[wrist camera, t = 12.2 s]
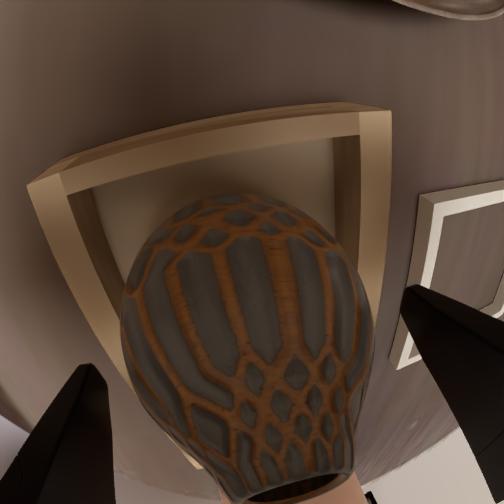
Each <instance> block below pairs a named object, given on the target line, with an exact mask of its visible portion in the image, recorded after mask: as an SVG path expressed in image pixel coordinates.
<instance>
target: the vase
mask: <svg viewBox="0 0 504 504" xmlns="http://www.w3.org/2000/svg"><path fill="white" fill-rule="evenodd" d="M120 339H121V346H122V352H123V357H124V361H125V365H126V369H127V372H128V375H129V378H130V381H131V383H132V386H133V388H134V390H135V392H136V394H137V396H138V398H139V400H140V402H141V404H142V405H143V407H144V408H145V409H146V411H147V412H148V414H149V415H150V416H151V418H152V419H153V420H154V421H155V422H156V423H157V424H158V425H159V427H160V428H161V429H162V430H163V431H164V432H165V433H166V434H167V435H168V436H169V437H170V438H171V439H172V440H173V441H174V442H175V443H176V444H178V445H179V446H180V447H181V448H182V449H183V450H184V451H185V452H186V453H187V454H189V455H190V456H191V457H192V458H193V459H194V460H195V461H197V462H198V463H199V464H200V465H201V466H202V467H203V468H204V469H205V470H206V471H207V473H208V474H209V475H210V476H211V477H212V478H213V480H214V481H215V482H216V484H217V485H218V486H219V488H220V489H221V490H222V492H223V493H224V494H225V496H226V497H227V499H228V500H229V501H230V502H231V503H232V504H297V503H300V502H303V501H306V500H309V499H312V498H315V497H317V496H320V495H322V494H324V493H327V492H329V491H331V490H333V489H335V488H336V487H338V486H340V485H341V484H343V483H344V482H345V481H347V480H348V479H349V478H350V476H351V475H352V474H353V471H354V464H355V438H356V431H357V423H358V420H359V416H360V412H361V409H362V406H363V402H364V399H365V395H366V391H367V387H368V383H369V379H370V374H371V370H372V364H373V358H374V348H375V333H374V322H373V317H372V312H371V307H370V303H369V300H368V297H367V293H366V290H365V288H364V285H363V283H362V280H361V278H360V275H359V273H358V271H357V270H356V268H355V266H354V264H353V262H352V260H351V259H350V257H349V256H348V254H347V253H346V252H345V250H344V249H343V248H342V247H341V245H340V244H339V243H338V242H337V241H336V239H335V238H334V237H333V236H332V235H331V234H330V233H329V232H328V231H327V230H326V229H325V228H323V227H322V226H321V225H320V224H319V223H318V222H316V221H315V220H314V219H313V218H311V217H310V216H309V215H307V214H306V213H304V212H303V211H301V210H299V209H298V208H296V207H294V206H292V205H289V204H287V203H285V202H282V201H280V200H277V199H274V198H271V197H267V196H262V195H256V194H248V193H229V194H220V195H215V196H211V197H207V198H204V199H201V200H198V201H196V202H194V203H191V204H189V205H187V206H185V207H184V208H182V209H180V210H179V211H177V212H176V213H174V214H173V215H172V216H170V217H169V218H168V219H166V220H165V221H164V222H163V223H162V224H161V225H160V226H159V227H157V229H156V230H155V231H154V232H153V233H152V234H151V235H150V237H149V238H148V239H147V241H146V242H145V243H144V245H143V246H142V248H141V249H140V251H139V252H138V254H137V256H136V258H135V260H134V262H133V265H132V267H131V270H130V272H129V275H128V278H127V281H126V285H125V289H124V293H123V297H122V304H121V311H120Z"/></svg>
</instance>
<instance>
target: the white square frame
mask: <svg viewBox="0 0 504 504" xmlns="http://www.w3.org/2000/svg"><path fill="white" fill-rule="evenodd" d="M503 201H504V180H501V181H495V182H489V183H483V184H477V185H471V186H465V187H459V188H454V189H448V190H442V191H437V192H431V193H426V194H420V195H419V204H418V213H417V222H416V230H415V237H414V244H413V251H412V257H411V263H410V269H409V275H408V280H407V285H406V287H408V286H411V285H414V284H419V285H421V286H424V287H426V288H428V289H429V287H430V283H431V279H432V274H433V270H434V265H435V260H436V256H437V251H438V245H439V240H440V234H441V228H442V222H443V216H447V215H451V214H455V213H459V212H463V211H467V210H471V209H475V208H479V207H483V206H487V205H491V204H495V203H499V202H503ZM479 311H481V312H483V313H486V314H488V315H490V316H492V317H494V318H498V317H499V316H501V315H502V314H503V312H504V273H503V276H502V279H501V282H500V285H499V288H498V290H497V293H496V296H495V298H494V301H493V303H492V304H490V305H488V306H486V307H484V308H483V309H481V310H479ZM420 359H422V357H421V356H420V354H419V352H418V350H417V347H416V345H415V343H414V341H413V339H412V337H411V335H410V333H409V331H408V329H407V326H406V324H405V322H404V320H403V318H402V316H401V314H400V318H399V322H398V326H397V330H396V334H395V338H394V342H393V346H392V349H391V353H390V356H389V360H390V361H391V363H392V364H393V366H394V367H395V369H396V370H398V369H400V368H403V367H405V366H407V365H409V364H412V363H414V362H416V361H418V360H420Z"/></svg>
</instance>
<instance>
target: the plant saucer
mask: <svg viewBox="0 0 504 504" xmlns="http://www.w3.org/2000/svg"><path fill="white" fill-rule="evenodd" d="M392 1H394V2H397V3H400V4H402V5H405V6H408V7H411V8H414V9H417V10H420V11H423V12H427V13H431V14H434V15H438V16H442V17H447V18H452V19H458V20H486V19H490V18H494V17H497V16H499V15H501V14H503V13H504V0H392Z"/></svg>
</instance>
